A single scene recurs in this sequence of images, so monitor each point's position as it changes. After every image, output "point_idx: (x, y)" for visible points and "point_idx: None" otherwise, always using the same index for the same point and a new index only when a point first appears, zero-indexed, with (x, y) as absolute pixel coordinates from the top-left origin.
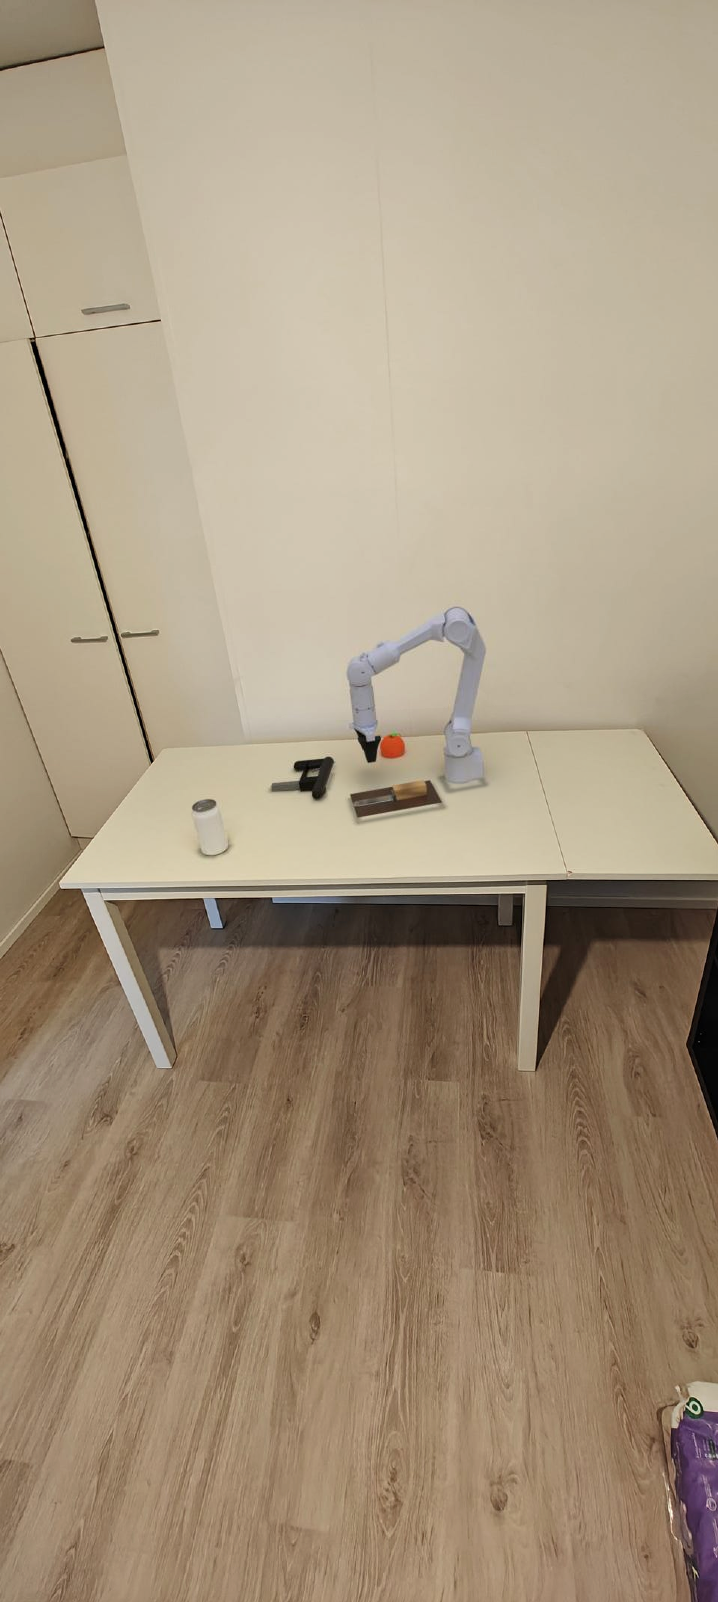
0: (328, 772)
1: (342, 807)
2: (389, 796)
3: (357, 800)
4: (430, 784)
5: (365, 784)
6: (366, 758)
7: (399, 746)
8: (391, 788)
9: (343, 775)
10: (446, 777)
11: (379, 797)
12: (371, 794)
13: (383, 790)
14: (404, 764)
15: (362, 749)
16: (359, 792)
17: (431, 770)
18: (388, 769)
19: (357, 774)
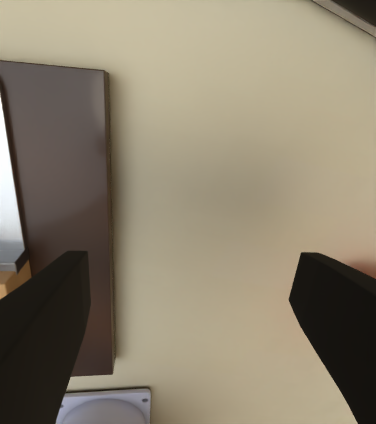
0: (365, 2)
1: (36, 7)
2: (10, 240)
3: (21, 92)
4: (79, 372)
5: (213, 169)
6: (41, 270)
7: None
8: (94, 258)
9: (337, 96)
10: (91, 420)
11: (10, 200)
12: (67, 172)
13: (88, 227)
14: (283, 316)
15: (305, 254)
16: (103, 123)
17: (204, 372)
18: (280, 268)
19: (309, 157)
